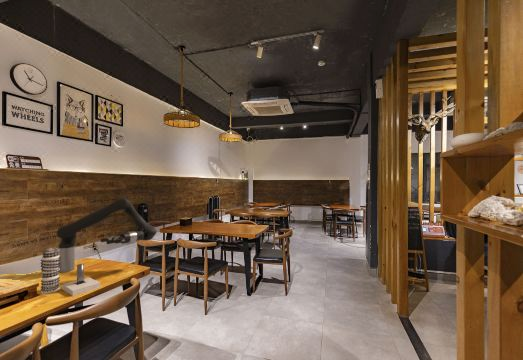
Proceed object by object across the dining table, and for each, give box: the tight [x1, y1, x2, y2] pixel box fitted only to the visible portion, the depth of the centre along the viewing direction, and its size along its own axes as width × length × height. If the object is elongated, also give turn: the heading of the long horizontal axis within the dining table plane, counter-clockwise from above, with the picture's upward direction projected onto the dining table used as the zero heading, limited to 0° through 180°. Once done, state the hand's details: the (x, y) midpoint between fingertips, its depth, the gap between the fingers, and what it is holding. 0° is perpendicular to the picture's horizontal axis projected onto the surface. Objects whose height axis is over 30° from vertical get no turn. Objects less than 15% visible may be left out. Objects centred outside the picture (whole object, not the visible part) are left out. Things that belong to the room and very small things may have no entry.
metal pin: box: [76, 263, 85, 285], centre depth 150 cm, size 4×4×14 cm
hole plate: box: [61, 276, 101, 297], centre depth 149 cm, size 16×14×3 cm
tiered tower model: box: [40, 247, 61, 295], centre depth 146 cm, size 9×9×25 cm
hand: (103, 241), depth 161 cm, fingers open, 8 cm apart
